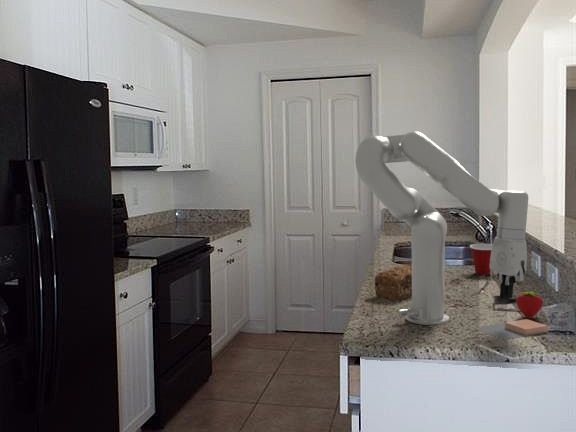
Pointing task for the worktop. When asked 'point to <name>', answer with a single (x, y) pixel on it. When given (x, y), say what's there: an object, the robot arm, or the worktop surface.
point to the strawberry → (529, 303)
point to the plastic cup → (481, 258)
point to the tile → (526, 327)
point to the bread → (394, 283)
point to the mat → (502, 332)
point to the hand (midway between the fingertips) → (505, 297)
